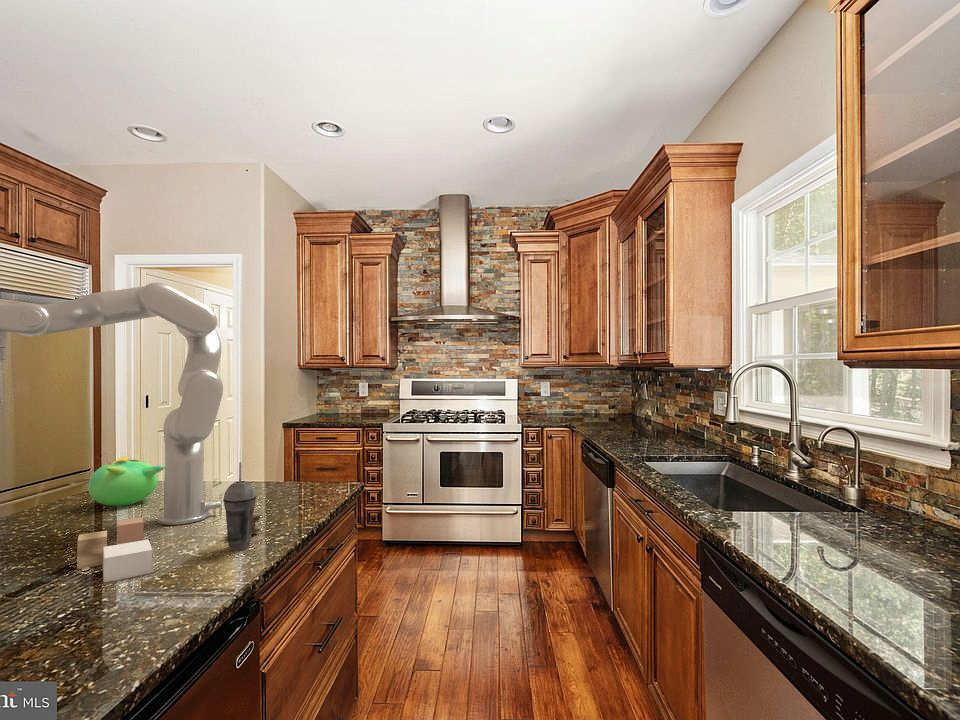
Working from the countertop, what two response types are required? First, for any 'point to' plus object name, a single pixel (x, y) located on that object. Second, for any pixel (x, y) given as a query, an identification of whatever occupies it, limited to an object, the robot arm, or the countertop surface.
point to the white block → (127, 560)
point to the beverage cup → (239, 513)
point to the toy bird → (123, 482)
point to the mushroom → (255, 519)
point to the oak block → (91, 549)
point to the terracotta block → (129, 530)
